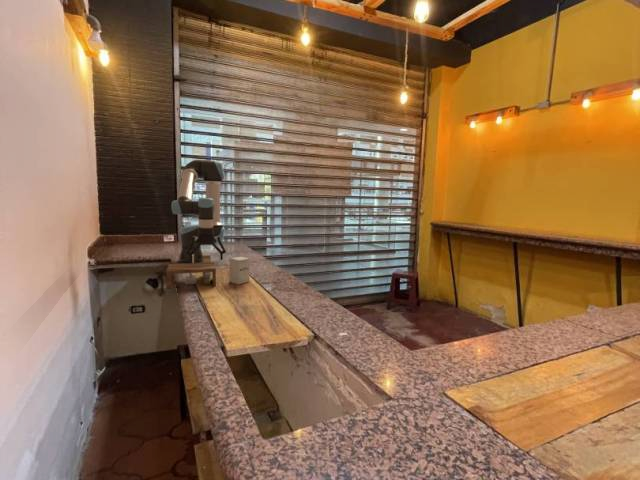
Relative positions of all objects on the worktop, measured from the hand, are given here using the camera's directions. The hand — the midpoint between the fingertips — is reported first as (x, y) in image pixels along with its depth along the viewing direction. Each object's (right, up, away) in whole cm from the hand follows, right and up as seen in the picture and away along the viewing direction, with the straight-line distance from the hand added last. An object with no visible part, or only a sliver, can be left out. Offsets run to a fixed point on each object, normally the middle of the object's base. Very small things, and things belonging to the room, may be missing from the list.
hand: (206, 266), depth 179 cm
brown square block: (-5, -8, -11) cm, 14 cm away
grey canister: (+19, -8, -7) cm, 22 cm away
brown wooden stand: (-3, -8, -13) cm, 16 cm away
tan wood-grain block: (+2, -7, -5) cm, 8 cm away
